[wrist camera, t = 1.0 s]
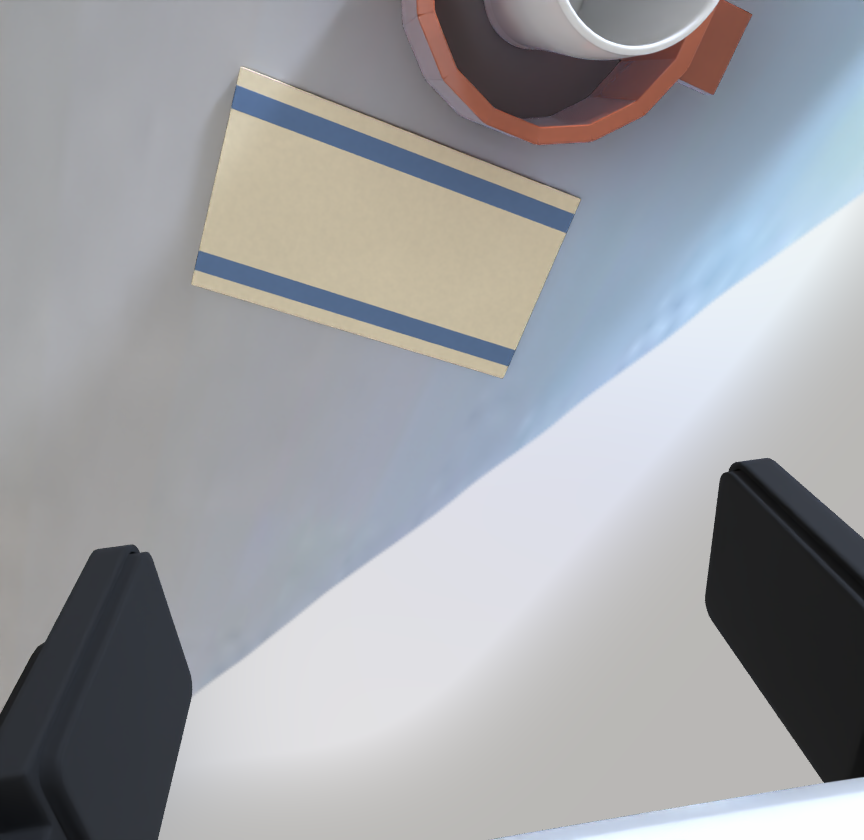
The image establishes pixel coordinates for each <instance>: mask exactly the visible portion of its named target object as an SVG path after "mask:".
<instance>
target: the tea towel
mask: <svg viewBox="0 0 864 840" xmlns="http://www.w3.org/2000/svg"><path fill="white" fill-rule="evenodd" d="M580 200H581V199H580V198H577V197H575V196H572V195H570V194H567V193H564V192H562V191H559V190H557V189H554V188H552V187H549V186H547V185H544V184H541V183H539V182H536V181H534V180H531V179H529V178H526V177H524V176H521V175H518V174H516V173H513V172H511V171H508V170H506V169H503V168H500V167H498V166H495V165H493V164H490V163H488V162H485V161H483V160H480V159H477V158H475V157H472V156H470V155H467V154H465V153H462V152H460V151H457V150H454V149H452V148H449V147H447V146H444V145H442V144H439V143H436V142H434V141H431V140H429V139H426V138H424V137H421V136H419V135H416V134H413V133H411V132H408V131H406V130H403V129H401V128H398V127H396V126H393V125H390V124H388V123H385V122H383V121H380V120H378V119H375V118H372V117H370V116H367V115H365V114H362V113H360V112H357V111H355V110H352V109H349V108H347V107H344V106H342V105H339V104H337V103H334V102H332V101H329V100H326V99H324V98H321V97H319V96H316V95H314V94H311V93H308V92H306V91H303V90H301V89H298V88H296V87H293V86H291V85H288V84H285V83H283V82H280V81H278V80H275V79H273V78H270V77H268V76H265V75H262V74H260V73H257V72H255V71H252V70H250V69H247V68H244V67H240V71H239V76H238V80H237V85H236V89H235V93H234V98H233V102H232V106H231V111H230V115H229V120H228V124H227V129H226V133H225V138H224V142H223V146H222V151H221V155H220V160H219V164H218V168H217V173H216V177H215V182H214V186H213V190H212V195H211V199H210V204H209V208H208V212H207V217H206V221H205V226H204V230H203V234H202V239H201V243H200V248H199V252H198V256H197V261H196V265H195V270H194V274H193V279H192V283H191V284H192V285H195V286H198V287H201V288H205V289H208V290H211V291H215V292H218V293H221V294H225V295H228V296H231V297H234V298H238V299H241V300H244V301H248V302H251V303H254V304H258V305H261V306H264V307H268V308H271V309H274V310H278V311H281V312H284V313H287V314H291V315H294V316H297V317H301V318H304V319H307V320H311V321H314V322H317V323H321V324H324V325H327V326H330V327H334V328H337V329H340V330H344V331H347V332H350V333H354V334H357V335H360V336H364V337H367V338H370V339H373V340H377V341H380V342H383V343H387V344H390V345H393V346H397V347H400V348H403V349H407V350H410V351H413V352H417V353H420V354H423V355H426V356H430V357H433V358H436V359H440V360H443V361H446V362H450V363H453V364H456V365H460V366H463V367H466V368H469V369H473V370H476V371H479V372H483V373H486V374H489V375H493V376H496V377H499V378H503V377H504V375H505V373H506V370H507V368H508V366H509V364H510V361H511V359H512V357H513V355H514V352H515V350H516V347H517V345H518V343H519V341H520V338H521V336H522V334H523V331H524V329H525V327H526V324H527V322H528V320H529V318H530V315H531V313H532V311H533V308H534V306H535V304H536V301H537V299H538V297H539V294H540V292H541V290H542V288H543V285H544V283H545V281H546V278H547V276H548V274H549V271H550V269H551V267H552V265H553V262H554V260H555V258H556V255H557V253H558V251H559V248H560V246H561V244H562V242H563V239H564V237H565V235H566V233H567V230H568V228H569V226H570V223H571V221H572V219H573V217H574V214H575V212H576V209H577V207H578V205H579V202H580Z"/></svg>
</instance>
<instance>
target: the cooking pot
mask: <svg viewBox="0 0 864 840" xmlns="http://www.w3.org/2000/svg"><path fill="white" fill-rule="evenodd" d="M401 5H402V24H403V29H404V31H405V34H406V36H407V38H408V41H409V43H410V46H411V48H412V51H413V53H414V55H415V58H416V60H417V63H418V65H419V67H420V70H421V72H422V75H423V77H424V79H425V80H426V82H427V83H428V84H429V85H430V86H431V87H432V88H433V89H434V90H435V91H436V92H437V93H438V94H439V95H440V96H441V97H442V98H443V99H444V100H445V101H446V102H447V103H448V104H449V105H450V106H451V107H452V108H453V109H454V111H455V112H456V113H457V114H458V115H459V116H461V117H463V118H465V119H468V120H470V121H473V122H475V123H478V124H480V125H483V126H485V127H487V128H490V129H492V130H495V131H497V132H500V133H502V134H505V135H508V136H511V137H514V138H517V139H520V140H523V141H526V142H529V143H532V144H537V145H549V144H567V143H586V142H591V141H595V140H597V139H599V138H601V137H603V136H605V135H607V134H609V133H611V132H613V131H615V130H617V129H619V128H621V127H623V126H625V125H627V124H629V123H631V122H633V121H635V120H637V119H639V118H641V117H643V116H644V115H646V114H647V113H648V112H649V110H650V109H651V108H652V107H653V106H654V105H655V104H656V103H657V102H658V101H659V100H660V99H661V98H662V97H663V95H664V94H665V93H666V92H667V91H668V90H669V89H670V88H671V87H672V86H673V85H674V84H675V83H676V82H678V83H680V84H682V85H684V86H687V87H689V88H691V89H693V90H695V91H697V92H700V93H702V94H706V95H714V93H715V91H716V89H717V87H718V85H719V83H720V81H721V79H722V77H723V74H724V72H725V70H726V68H727V66H728V64H729V62H730V60H731V58H732V56H733V54H734V52H735V49H736V47H737V45H738V43H739V41H740V39H741V37H742V35H743V33H744V31H745V29H746V27H747V25H748V22H749V20H750V18H751V16H752V14H751V13H749V12H747V11H745V10H743V9H741V8H739V7H737V6H735V5H733V4H731V3H729V2H727V1H725V0H719V2H718V4H717V5H716V6H715V8H714V9H713V11H712V12H711V13H710V15H709V16H708V17H707V18H706V19H705V20H704V21H703V23H702V24H701V25H700V26H699V27H698V28H697V29H695V30H694V31H693V32H692V33H691V34H690V35H688V36H687V37H685V38H684V39H683V40H681V41H679V42H678V43H676V44H674V45H673V46H670V47H668V48H666V49H664V50H661V51H658V52H655V53H651V54H646V55H641V56H636V57H631V58H625V59H621V61H620V62H619V63H618V65H617V66H616V67H615V68H614V69H613V70H612V71H611V72H610V73H609V75H608V76H607V77H606V78H605V79H604V80H603V81H602V82H601V83H600V85H599V86H598V87H597V88H596V89H595V90H594V91H593V92H592V93H591V95H590V96H589V97H587V98H585V99H583V100H581V101H579V102H577V103H575V104H573V105H571V106H569V107H567V108H565V109H564V110H562V111H560V112H558V113H556V114H554V115H552V116H550V117H534V118H518V117H516V116H513V115H511V114H508V113H506V112H503V111H501V110H499V109H496V108H494V107H493V106H492V105H491V104H490V103H489V102H488V100H487V99H486V98H485V97H484V96H483V95H482V94H481V93H480V92H479V91H478V90H477V89H476V88H475V87H474V85H473V84H472V83H471V82H470V81H469V80H468V79H467V78H466V77H465V76H464V75H463V74H462V73H461V72H460V70H459V69H458V68H457V66H456V64H455V61H454V59H453V56H452V53H451V51H450V48H449V46H448V43H447V41H446V38H445V36H444V33H443V30H442V28H441V25H440V23H439V20H438V18H437V15H436V12H435V0H401Z"/></svg>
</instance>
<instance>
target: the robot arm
mask: <svg viewBox="0 0 864 840" xmlns="http://www.w3.org/2000/svg"><path fill="white" fill-rule="evenodd" d="M705 603H706V608H707V611H708V614H709V616H710V618H711V620H712V621H713V623H714V624H715V626H716V627H717V629H718V630H719V632H720V633H721V634H722V636H723V637H724V639H725V640H726V642H727V643H728V645H729V646H730V648H731V649H732V650H733V652H734V653H735V655H736V656H737V658H738V659H739V660H740V662H741V663H742V665H743V666H744V668H745V669H746V671H747V672H748V674H749V675H750V676H751V678H752V679H753V681H754V682H755V684H756V685H757V687H758V688H759V690H760V691H761V692H762V694H763V695H764V697H765V698H766V700H767V701H768V703H769V704H770V705H771V707H772V708H773V710H774V711H775V713H776V714H777V716H778V717H779V718H780V720H781V721H782V723H783V724H784V726H785V727H786V729H787V730H788V731H789V733H790V734H791V736H792V737H793V739H794V740H795V741H796V743H797V744H798V746H799V747H800V749H801V750H802V751H803V753H804V755H805V756H806V758H807V759H808V760H809V762H810V763H811V765H812V766H813V768H814V769H815V770H816V772H817V773H818V775H819V776H820V778H821V779H822V781H823V782H824V783H821V784H815V785H808V786H803V787H796V788H790V789H784V790H778V791H773V792H767V793H760V794H755V795H749V796H742V797H736V798H731V799H724V800H718V801H713V802H706V803H700V804H694V805H689V806H683V807H677V808H670V809H664V810H659V811H653V812H646V813H641V814H635V815H629V816H623V817H617V818H611V819H606V820H600V821H595V822H588V823H582V824H576V825H571V826H565V827H559V828H553V829H547V830H542V831H536V832H530V833H524V834H519V835H513V836H507V837H501V838H496V839H490V840H864V539H863V538H862V537H861V536H860V535H859V534H858V533H856V532H855V531H854V530H853V529H852V528H851V527H849V526H848V525H847V524H846V523H845V522H844V521H842V519H840V518H839V517H838V516H837V515H836V514H835V513H834V512H832V511H831V510H830V509H829V508H828V507H827V506H825V505H824V504H823V503H822V502H821V501H820V500H819V499H817V498H816V497H815V496H814V495H813V494H812V493H811V492H809V491H808V490H807V489H806V488H805V487H804V486H802V485H801V484H800V483H799V482H798V481H797V480H796V479H795V478H793V477H792V476H791V475H790V474H789V473H788V472H787V471H785V470H784V469H783V468H782V467H781V466H780V465H778V464H777V463H776V462H775V461H774V460H772V459H770V458H764V459H756V460H749V461H742V462H735V463H733V464H732V465H731V467H730V469H729V472H726V473H723V474H722V476H721V478H720V483H719V491H718V499H717V507H716V515H715V523H714V531H713V539H712V546H711V554H710V563H709V571H708V578H707V586H706V594H705ZM191 697H192V680H191V675H190V671H189V668H188V665H187V662H186V659H185V656H184V653H183V650H182V647H181V644H180V641H179V638H178V635H177V632H176V629H175V626H174V623H173V620H172V617H171V614H170V611H169V608H168V604H167V601H166V598H165V595H164V592H163V589H162V586H161V583H160V580H159V577H158V574H157V571H156V568H155V565H154V562H153V559H152V557H151V555H150V554H149V553H148V552H142V553H140V552H139V550H138V548H137V547H136V546H135V545H125V546H118V547H110V548H103V549H97V550H94V551H93V553H92V554H91V555H90V557H89V559H88V561H87V563H86V565H85V567H84V569H83V571H82V573H81V574H80V576H79V578H78V580H77V582H76V584H75V586H74V588H73V590H72V592H71V594H70V595H69V597H68V599H67V601H66V603H65V605H64V607H63V609H62V611H61V613H60V615H59V617H58V618H57V620H56V622H55V624H54V626H53V628H52V630H51V632H50V634H49V636H48V638H47V640H46V641H45V642H44V643H43V644H41V645H40V646H38V647H37V649H36V650H35V651H34V653H33V654H32V656H31V658H30V659H29V661H28V663H27V665H26V667H25V669H24V671H23V673H22V674H21V676H20V678H19V680H18V682H17V684H16V686H15V688H14V689H13V691H12V693H11V695H10V697H9V699H8V701H7V702H6V704H5V706H4V708H3V710H2V712H1V714H0V840H158V836H159V832H160V827H161V824H162V819H163V815H164V811H165V807H166V802H167V798H168V794H169V790H170V786H171V782H172V777H173V773H174V769H175V764H176V761H177V756H178V752H179V747H180V744H181V740H182V735H183V731H184V727H185V723H186V719H187V714H188V710H189V706H190V702H191Z"/></svg>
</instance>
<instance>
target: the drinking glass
mask: <svg viewBox="0 0 864 840" xmlns="http://www.w3.org/2000/svg"><path fill="white" fill-rule="evenodd" d="M718 2H719V0H484V6H485V10H486V13H487V16H488V19H489V21H490V23H491V25H492V27H493V28H494V30H495V31H496V32H497V33H498V35H499V36H500V37H501V38H503V39H504V40H505V41H506V42H508V43H509V44H511V45H513V46H516V47H518V48H522V49H528V50H536V49H539V50H544V51H549V52H553V53H557V54H561V55H565V56H570V57H574V58H579V59H587V60H616V59H625V58H631V57H636V56H641V55H646V54H651V53H655V52H658V51H661V50H664V49H666V48H668V47H670V46H673V45H674V44H676V43H678V42H679V41H681V40H683V39H684V38H685V37H687V36H688V35H690V34H691V33H692V32H693V31H694V30H695V29H697V28H698V27H699V26H700V25H701V24H702V23H703V21H704V20H705V19H706V18H707V17H708V16H709V15H710V13H711V12H712V11H713V9H714V8H715V6H716V5H717V4H718Z"/></svg>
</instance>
